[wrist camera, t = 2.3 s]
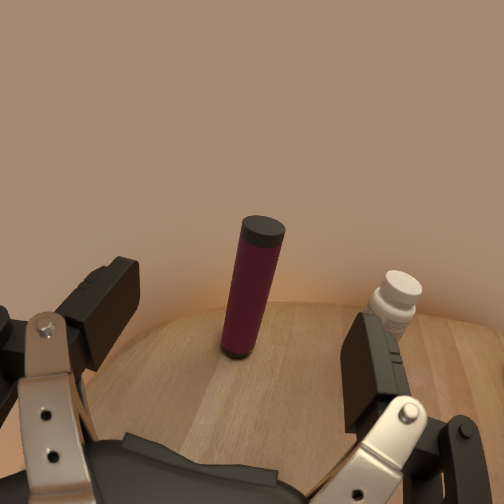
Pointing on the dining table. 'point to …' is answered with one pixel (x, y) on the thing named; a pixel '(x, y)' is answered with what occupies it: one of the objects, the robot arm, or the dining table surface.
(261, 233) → the marker
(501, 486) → the dining table surface
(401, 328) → the pill bottle
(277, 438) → the dining table surface
